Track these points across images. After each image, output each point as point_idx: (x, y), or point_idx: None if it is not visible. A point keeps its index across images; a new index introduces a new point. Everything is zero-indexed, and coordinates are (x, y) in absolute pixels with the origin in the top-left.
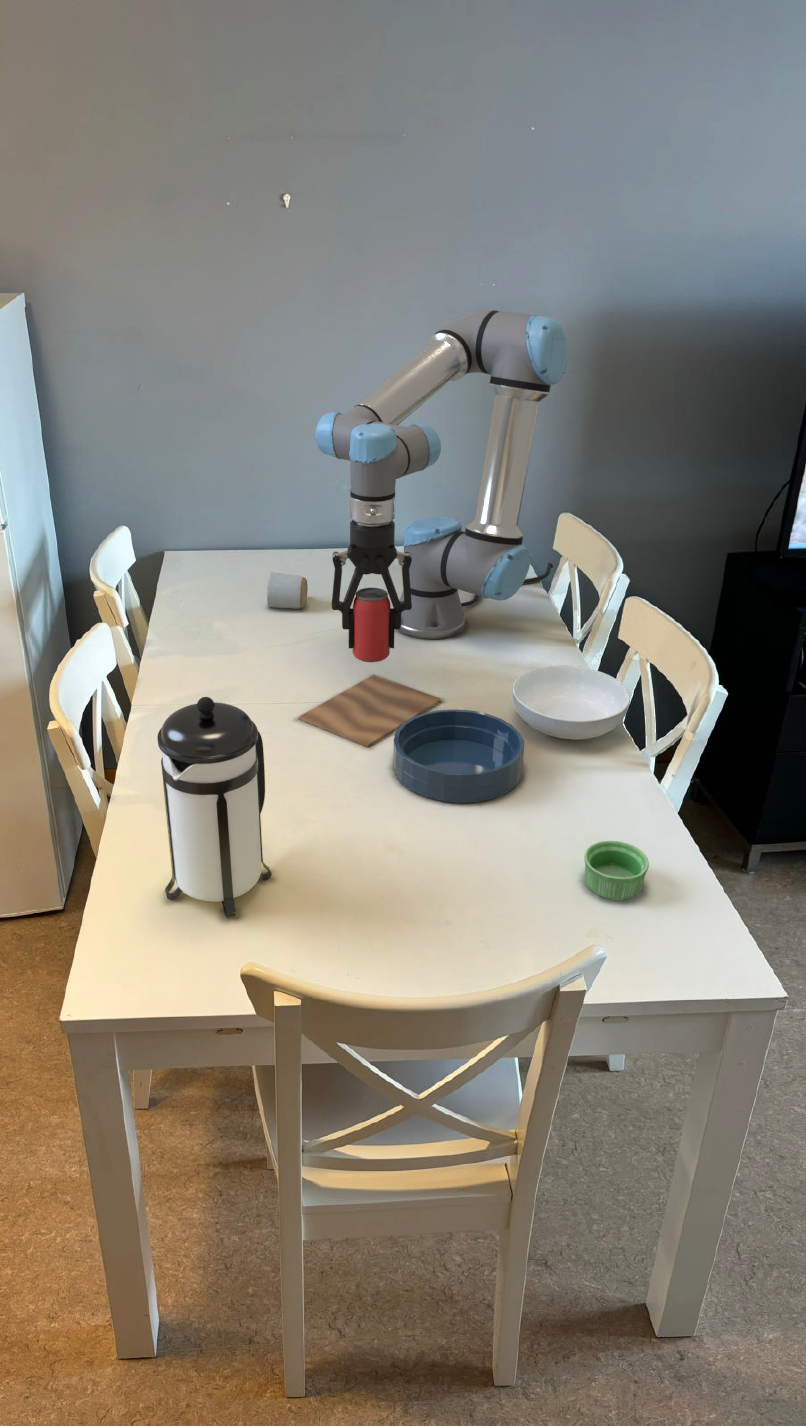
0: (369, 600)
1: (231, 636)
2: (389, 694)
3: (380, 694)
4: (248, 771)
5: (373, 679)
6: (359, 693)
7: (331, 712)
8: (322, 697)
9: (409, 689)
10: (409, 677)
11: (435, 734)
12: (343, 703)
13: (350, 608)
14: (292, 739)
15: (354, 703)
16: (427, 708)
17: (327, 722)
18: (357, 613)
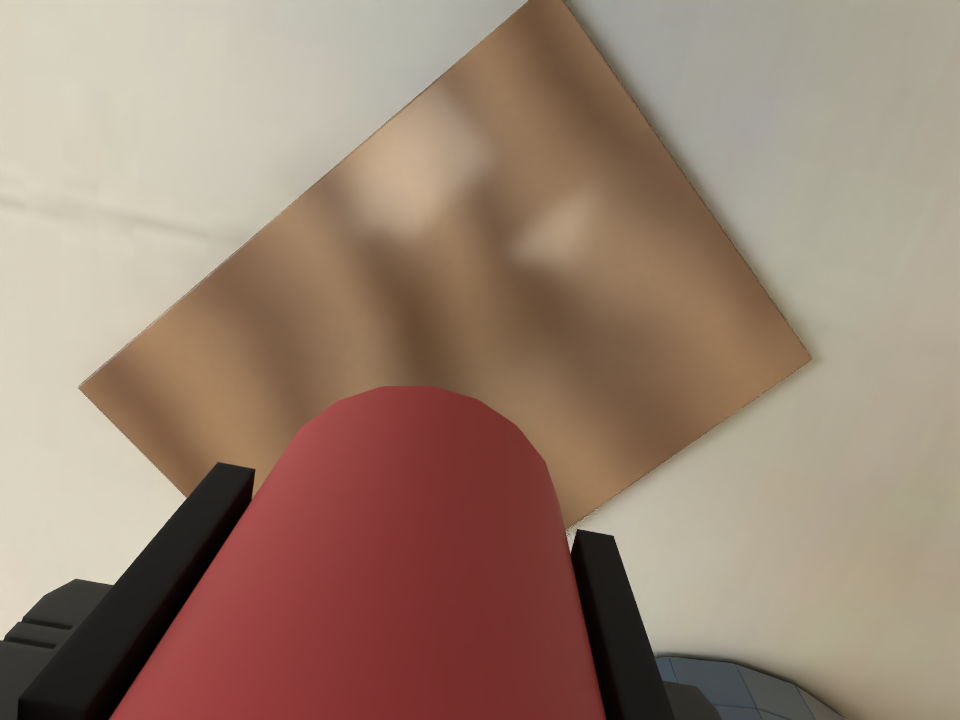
0: None
1: None
2: (570, 255)
3: (524, 245)
4: None
5: (532, 51)
6: (416, 208)
7: (241, 379)
8: (220, 181)
9: (692, 223)
10: (751, 41)
11: None
12: (313, 302)
13: (46, 710)
14: (54, 543)
15: (369, 314)
16: (711, 426)
17: (212, 466)
18: None
